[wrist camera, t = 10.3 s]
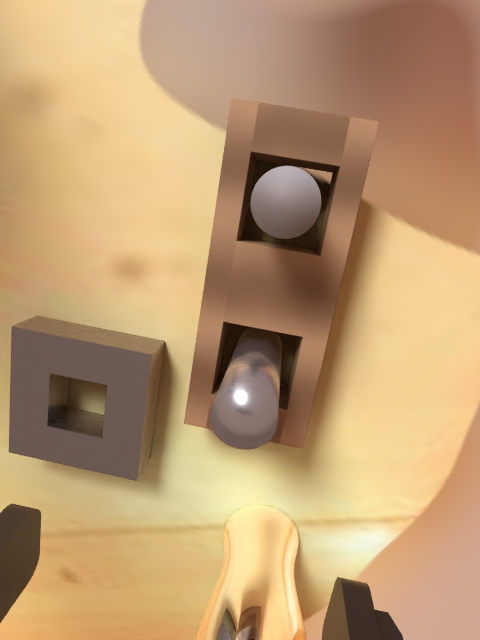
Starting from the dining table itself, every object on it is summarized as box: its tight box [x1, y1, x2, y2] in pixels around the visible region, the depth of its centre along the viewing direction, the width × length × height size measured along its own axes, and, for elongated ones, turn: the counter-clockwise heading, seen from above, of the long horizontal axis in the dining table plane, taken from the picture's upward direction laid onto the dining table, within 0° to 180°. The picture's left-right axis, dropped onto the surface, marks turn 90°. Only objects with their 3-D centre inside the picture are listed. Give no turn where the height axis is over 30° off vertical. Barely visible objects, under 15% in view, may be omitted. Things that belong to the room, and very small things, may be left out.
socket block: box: [9, 316, 165, 481], centre depth 31 cm, size 10×10×3 cm
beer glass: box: [196, 505, 306, 640], centre depth 27 cm, size 7×7×15 cm
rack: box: [184, 98, 379, 448], centre depth 25 cm, size 20×8×9 cm, turn 170°
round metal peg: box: [210, 327, 282, 449], centre depth 25 cm, size 3×3×11 cm
